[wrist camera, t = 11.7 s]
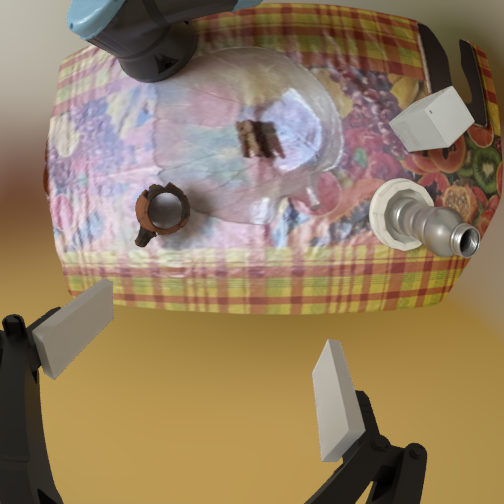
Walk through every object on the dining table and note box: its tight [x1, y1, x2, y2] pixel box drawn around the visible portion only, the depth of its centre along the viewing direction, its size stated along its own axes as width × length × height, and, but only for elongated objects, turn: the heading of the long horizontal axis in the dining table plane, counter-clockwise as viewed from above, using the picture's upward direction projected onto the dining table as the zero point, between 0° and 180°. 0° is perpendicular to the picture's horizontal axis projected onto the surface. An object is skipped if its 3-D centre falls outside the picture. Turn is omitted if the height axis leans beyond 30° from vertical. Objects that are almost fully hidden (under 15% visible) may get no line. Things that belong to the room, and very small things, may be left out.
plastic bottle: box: [389, 197, 480, 258], centre depth 32 cm, size 6×7×20 cm
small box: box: [388, 86, 475, 152], centre depth 31 cm, size 8×6×13 cm
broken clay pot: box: [135, 182, 190, 247], centre depth 44 cm, size 12×10×8 cm
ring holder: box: [369, 178, 434, 251], centre depth 41 cm, size 12×12×3 cm
